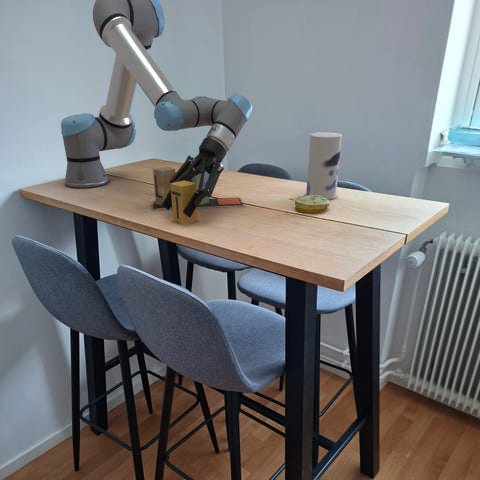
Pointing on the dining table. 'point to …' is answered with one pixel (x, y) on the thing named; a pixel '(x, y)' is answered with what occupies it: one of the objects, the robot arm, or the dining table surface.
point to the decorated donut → (311, 203)
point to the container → (323, 164)
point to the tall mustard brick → (182, 200)
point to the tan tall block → (162, 182)
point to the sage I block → (197, 180)
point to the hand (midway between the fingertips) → (175, 211)
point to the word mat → (213, 202)
